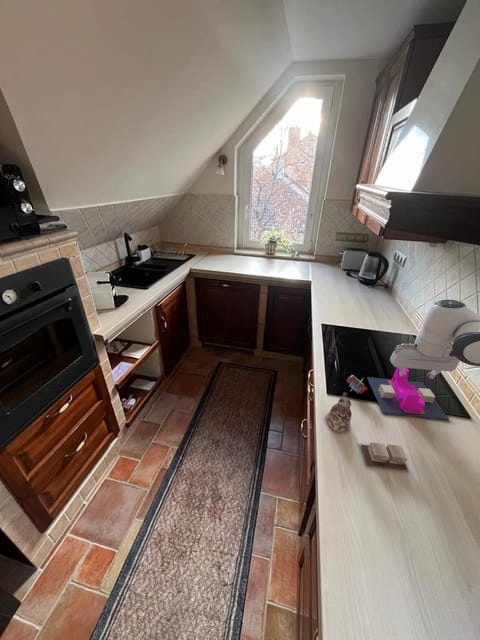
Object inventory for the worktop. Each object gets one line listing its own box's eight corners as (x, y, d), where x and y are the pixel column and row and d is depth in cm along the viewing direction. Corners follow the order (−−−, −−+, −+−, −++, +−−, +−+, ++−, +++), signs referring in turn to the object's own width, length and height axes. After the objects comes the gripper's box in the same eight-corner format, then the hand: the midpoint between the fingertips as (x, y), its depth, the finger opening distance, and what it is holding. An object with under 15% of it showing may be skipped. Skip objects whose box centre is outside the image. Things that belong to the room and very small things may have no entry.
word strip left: (397, 450, 78) (402, 443, 76) (406, 470, 73) (411, 462, 71) (360, 446, 79) (364, 438, 77) (367, 465, 74) (370, 457, 72)
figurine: (325, 426, 85) (332, 401, 79) (328, 411, 91) (335, 386, 84) (347, 435, 82) (357, 409, 76) (349, 418, 88) (358, 394, 82)
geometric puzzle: (373, 388, 98) (364, 370, 97) (367, 399, 93) (358, 379, 93) (355, 389, 103) (347, 372, 102) (348, 399, 98) (340, 380, 98)
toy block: (420, 413, 89) (428, 398, 86) (400, 409, 91) (408, 394, 87) (408, 384, 102) (415, 369, 98) (391, 380, 103) (397, 366, 100)
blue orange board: (422, 383, 104) (425, 376, 102) (448, 420, 88) (453, 413, 86) (366, 378, 106) (369, 371, 104) (382, 413, 90) (385, 406, 88)
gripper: (401, 348, 83) (388, 379, 90) (469, 353, 81) (450, 385, 88) (393, 337, 88) (382, 368, 95) (456, 342, 86) (440, 372, 93)
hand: (415, 376), depth 92 cm, fingers open, 8 cm apart
